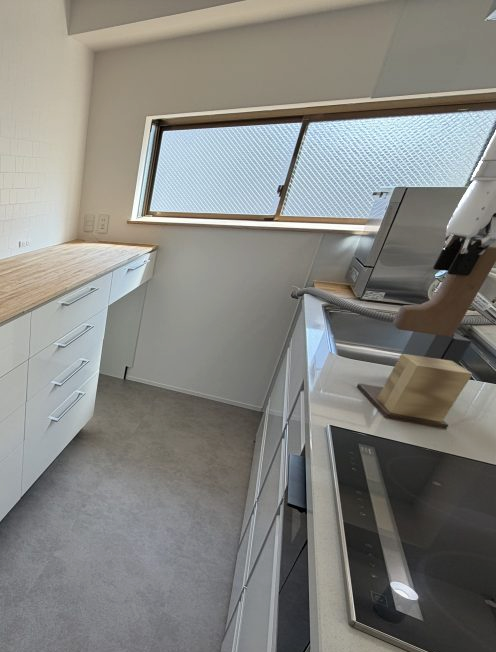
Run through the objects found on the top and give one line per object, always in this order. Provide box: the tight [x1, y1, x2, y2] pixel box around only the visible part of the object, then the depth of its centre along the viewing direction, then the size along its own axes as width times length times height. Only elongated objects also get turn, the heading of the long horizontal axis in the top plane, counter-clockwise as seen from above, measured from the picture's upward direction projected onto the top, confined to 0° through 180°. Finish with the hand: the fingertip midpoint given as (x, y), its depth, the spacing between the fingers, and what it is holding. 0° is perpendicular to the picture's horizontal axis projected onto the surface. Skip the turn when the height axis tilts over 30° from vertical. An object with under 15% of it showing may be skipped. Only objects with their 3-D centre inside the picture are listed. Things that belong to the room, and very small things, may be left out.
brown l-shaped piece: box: [392, 245, 496, 337], centre depth 86 cm, size 9×4×18 cm, turn 60°
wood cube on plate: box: [356, 353, 473, 430], centre depth 89 cm, size 10×16×12 cm, turn 158°
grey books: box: [401, 331, 473, 365], centre depth 98 cm, size 6×9×15 cm
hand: (450, 271), depth 84 cm, fingers closed on brown l-shaped piece, 4 cm apart
